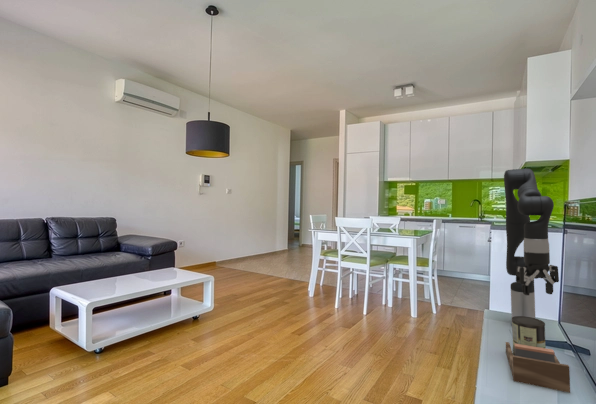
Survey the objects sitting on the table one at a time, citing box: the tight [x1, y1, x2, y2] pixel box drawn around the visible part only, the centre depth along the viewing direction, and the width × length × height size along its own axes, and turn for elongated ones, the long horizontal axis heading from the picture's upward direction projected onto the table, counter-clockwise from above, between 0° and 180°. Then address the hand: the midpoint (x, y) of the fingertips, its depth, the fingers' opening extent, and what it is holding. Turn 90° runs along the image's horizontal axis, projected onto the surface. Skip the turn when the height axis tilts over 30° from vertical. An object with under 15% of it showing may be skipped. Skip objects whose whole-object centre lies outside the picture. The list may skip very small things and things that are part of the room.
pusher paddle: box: [514, 343, 556, 363], centre depth 108 cm, size 2×11×8 cm, turn 62°
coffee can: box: [510, 316, 546, 356], centre depth 117 cm, size 10×10×14 cm
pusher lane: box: [505, 341, 571, 393], centre depth 109 cm, size 23×14×8 cm, turn 152°
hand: (537, 294), depth 114 cm, fingers open, 8 cm apart
